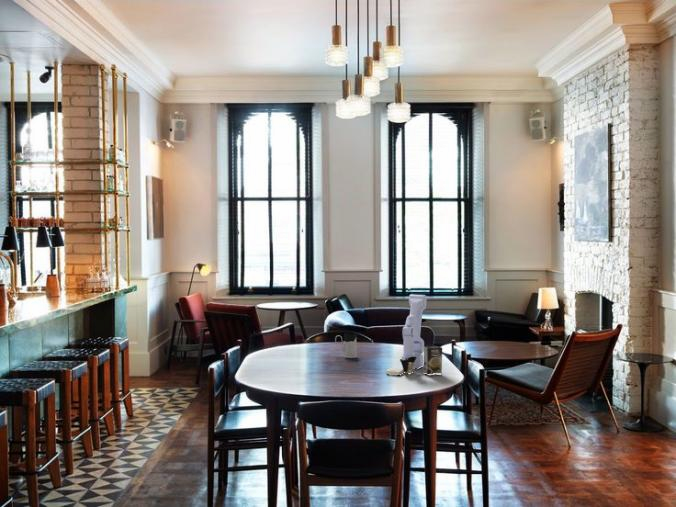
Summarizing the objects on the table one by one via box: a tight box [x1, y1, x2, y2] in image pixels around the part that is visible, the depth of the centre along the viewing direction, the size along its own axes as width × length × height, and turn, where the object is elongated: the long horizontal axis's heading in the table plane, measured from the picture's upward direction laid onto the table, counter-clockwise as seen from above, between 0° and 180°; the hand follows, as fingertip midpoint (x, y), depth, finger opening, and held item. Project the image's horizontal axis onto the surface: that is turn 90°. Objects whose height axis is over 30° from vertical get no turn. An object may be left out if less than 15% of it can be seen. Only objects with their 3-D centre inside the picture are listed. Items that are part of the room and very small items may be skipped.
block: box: [405, 362, 415, 373], centre depth 388 cm, size 4×4×6 cm
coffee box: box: [422, 345, 443, 374], centre depth 384 cm, size 9×6×16 cm
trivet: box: [385, 367, 404, 376], centre depth 385 cm, size 8×8×3 cm
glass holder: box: [334, 332, 358, 359], centre depth 434 cm, size 9×14×15 cm, turn 89°
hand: (408, 370), depth 387 cm, fingers open, 7 cm apart
